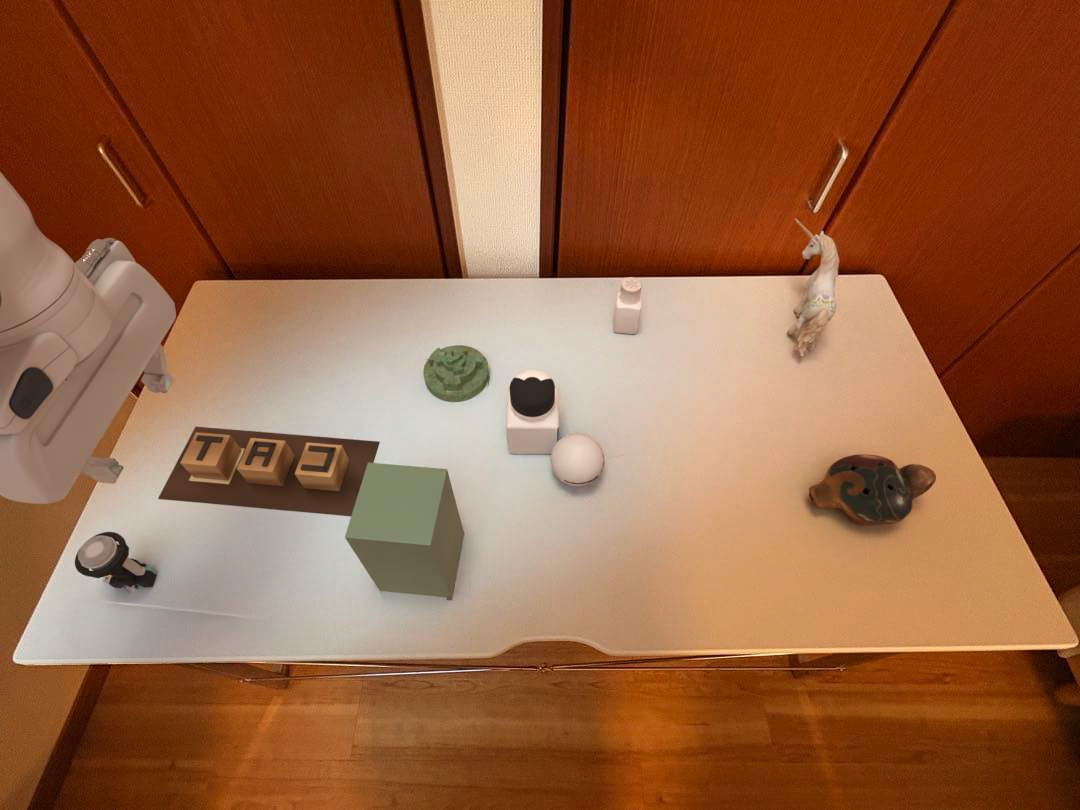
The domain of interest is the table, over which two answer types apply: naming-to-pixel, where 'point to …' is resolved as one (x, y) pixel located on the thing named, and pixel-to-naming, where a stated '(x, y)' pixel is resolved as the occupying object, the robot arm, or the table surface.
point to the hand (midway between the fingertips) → (139, 429)
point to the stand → (407, 529)
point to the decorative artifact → (456, 373)
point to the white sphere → (577, 459)
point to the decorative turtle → (871, 488)
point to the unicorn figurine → (817, 291)
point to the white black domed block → (532, 413)
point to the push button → (113, 562)
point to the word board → (272, 496)
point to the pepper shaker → (628, 306)
